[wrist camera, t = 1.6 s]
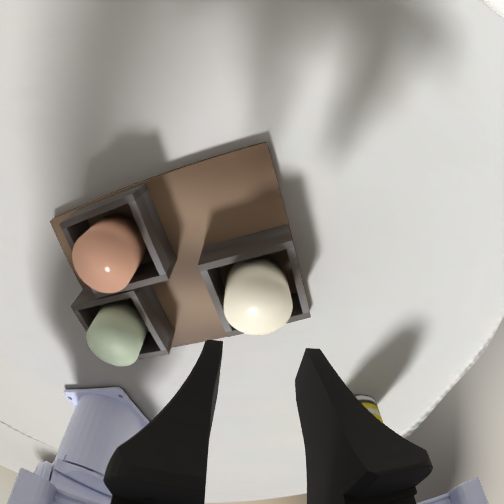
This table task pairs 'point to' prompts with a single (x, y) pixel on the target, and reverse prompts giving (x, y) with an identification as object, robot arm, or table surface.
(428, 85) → the table surface
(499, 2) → the flower in vase
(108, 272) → the terracotta button
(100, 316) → the sage button
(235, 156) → the button panel
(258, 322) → the cream button
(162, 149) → the table surface
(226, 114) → the table surface
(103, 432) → the robot arm
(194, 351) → the table surface
